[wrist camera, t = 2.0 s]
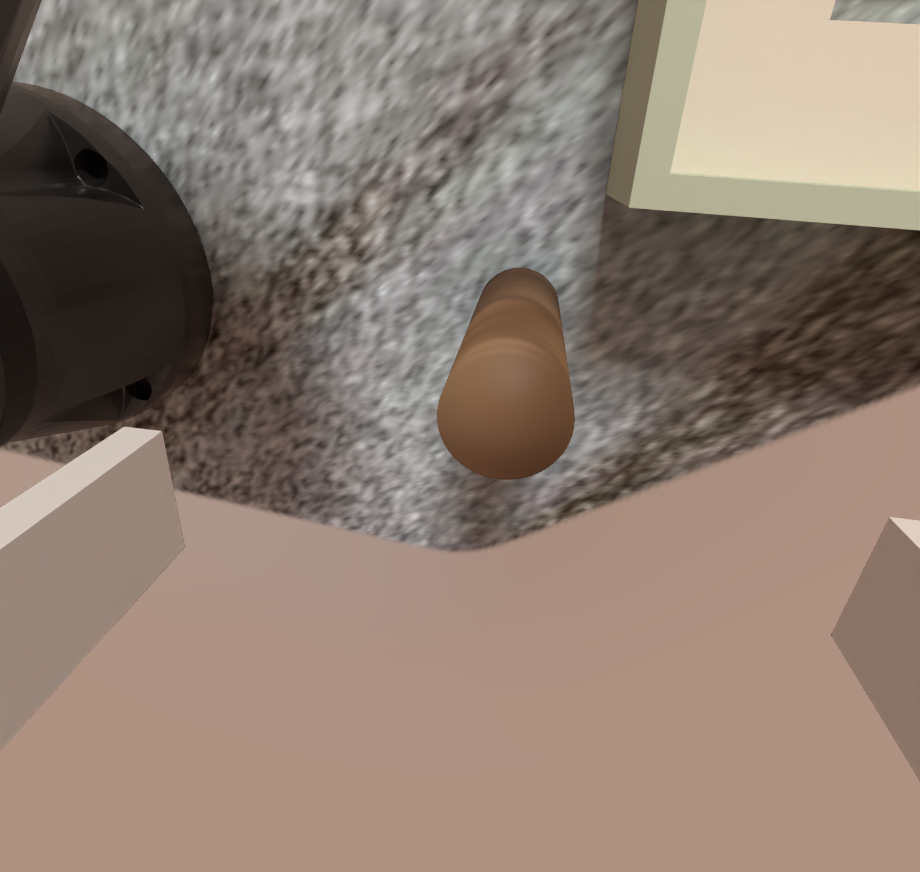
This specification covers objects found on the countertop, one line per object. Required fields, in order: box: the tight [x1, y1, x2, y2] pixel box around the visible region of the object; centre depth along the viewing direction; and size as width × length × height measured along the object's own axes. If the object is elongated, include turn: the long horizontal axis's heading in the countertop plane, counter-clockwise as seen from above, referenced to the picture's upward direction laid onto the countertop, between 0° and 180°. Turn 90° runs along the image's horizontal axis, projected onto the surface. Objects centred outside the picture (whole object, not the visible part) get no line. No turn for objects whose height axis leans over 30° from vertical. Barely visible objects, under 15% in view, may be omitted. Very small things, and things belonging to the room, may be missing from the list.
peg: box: [437, 268, 575, 480], centre depth 20 cm, size 4×4×12 cm
